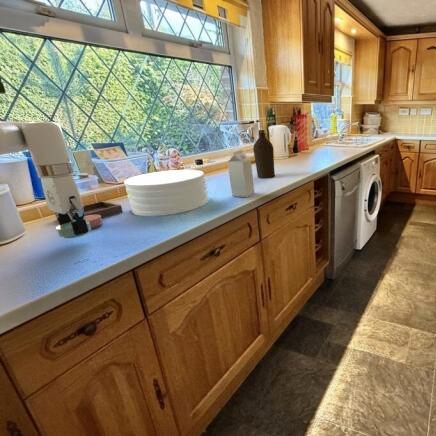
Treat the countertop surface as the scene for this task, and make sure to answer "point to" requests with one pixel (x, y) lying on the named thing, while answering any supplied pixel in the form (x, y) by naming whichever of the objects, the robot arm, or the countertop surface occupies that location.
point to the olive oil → (264, 156)
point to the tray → (100, 209)
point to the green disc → (69, 230)
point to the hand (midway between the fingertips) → (75, 230)
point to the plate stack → (166, 192)
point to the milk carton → (241, 175)
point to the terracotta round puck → (94, 220)
